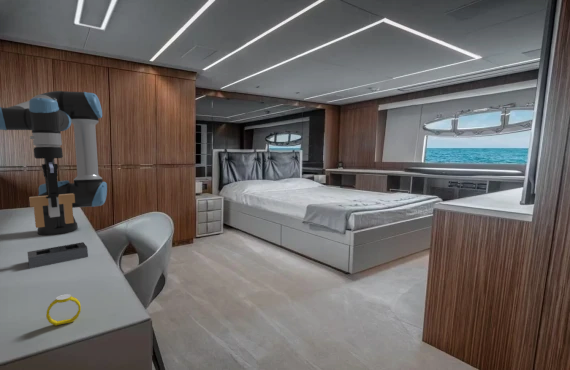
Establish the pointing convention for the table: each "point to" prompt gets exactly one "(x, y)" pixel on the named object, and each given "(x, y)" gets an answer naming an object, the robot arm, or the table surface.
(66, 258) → the slotted gray block
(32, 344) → the table surface
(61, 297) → the watch
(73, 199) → the notched wooden block
